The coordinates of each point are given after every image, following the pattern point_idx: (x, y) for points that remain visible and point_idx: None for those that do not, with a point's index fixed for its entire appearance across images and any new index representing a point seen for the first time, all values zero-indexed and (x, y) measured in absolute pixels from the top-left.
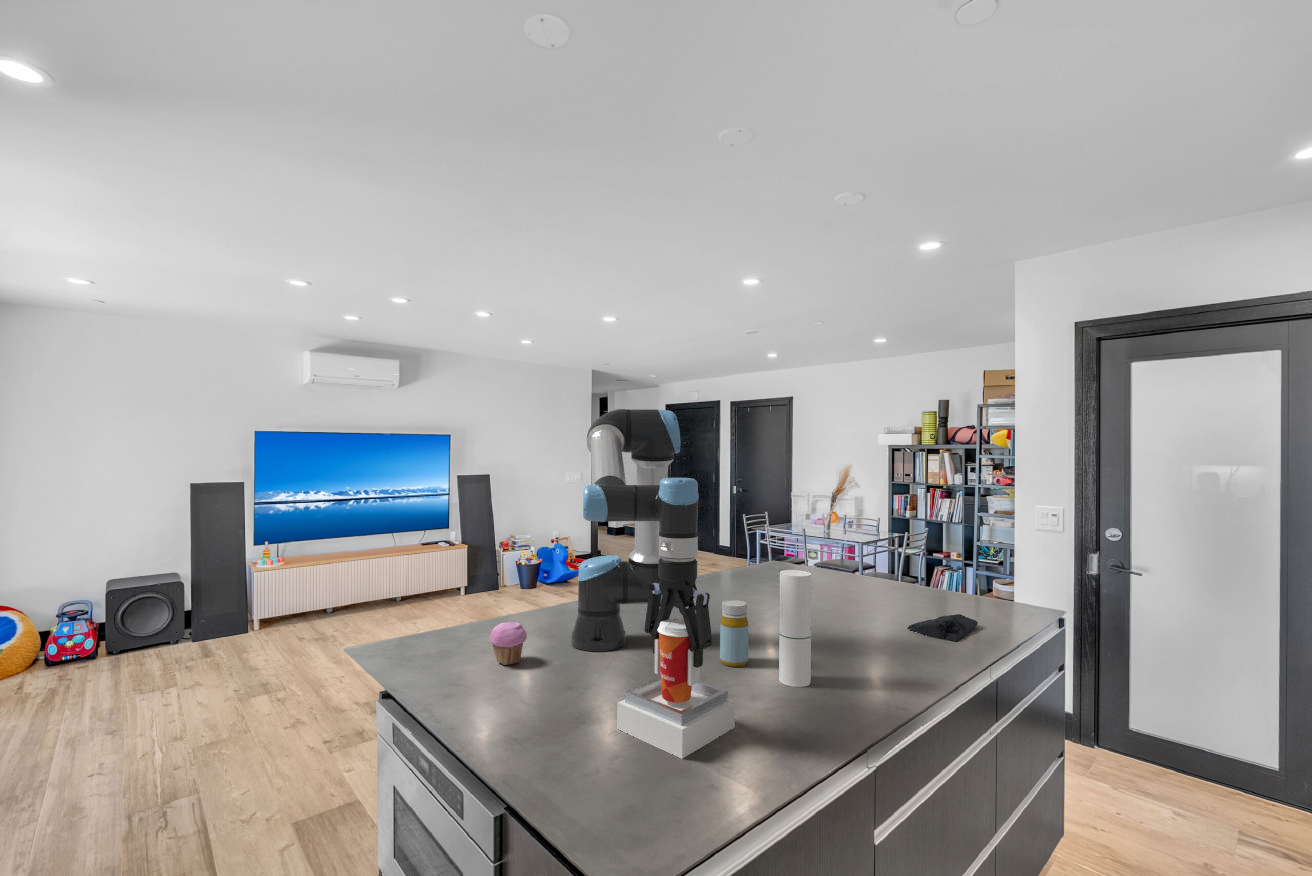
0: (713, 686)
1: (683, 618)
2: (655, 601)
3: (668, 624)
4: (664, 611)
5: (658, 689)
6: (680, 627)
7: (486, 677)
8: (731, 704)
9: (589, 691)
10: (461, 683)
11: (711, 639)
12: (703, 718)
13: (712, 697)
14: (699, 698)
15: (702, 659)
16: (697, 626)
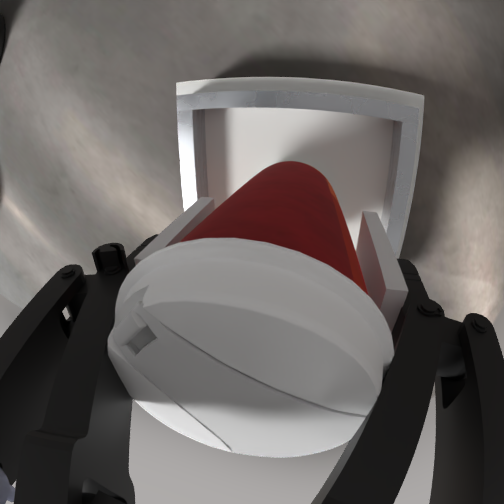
0: (364, 101)
1: (317, 496)
2: (16, 432)
3: (206, 426)
4: (127, 462)
5: (205, 172)
6: (307, 444)
7: (10, 243)
8: (422, 113)
9: (73, 176)
10: (18, 270)
11: (496, 346)
12: (403, 238)
13: (406, 183)
14: (333, 137)
15: (418, 279)
16: (435, 464)
